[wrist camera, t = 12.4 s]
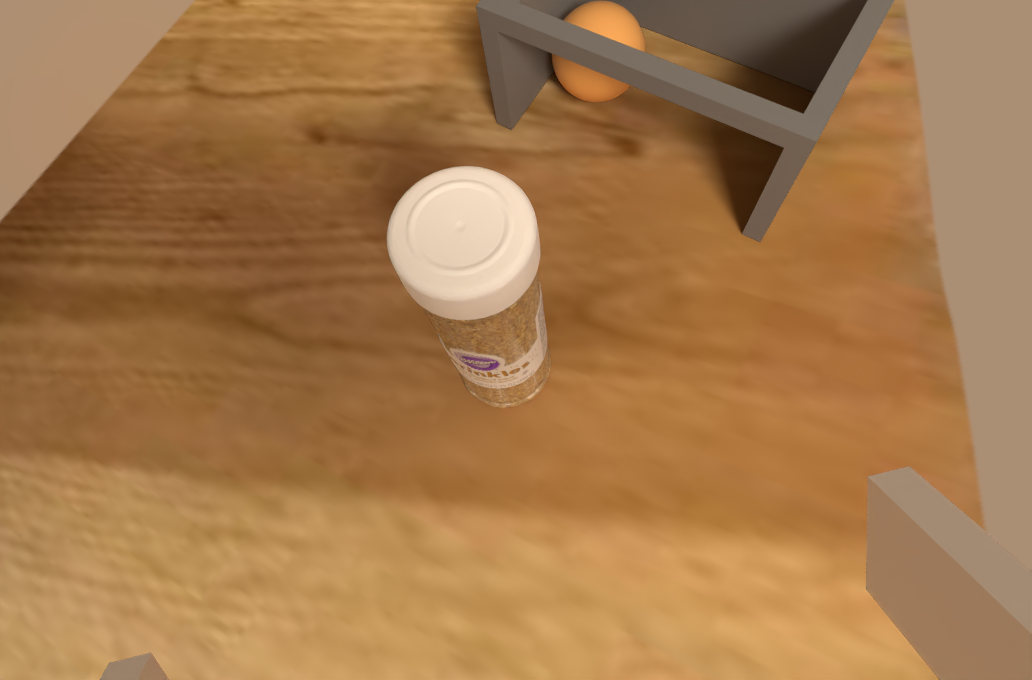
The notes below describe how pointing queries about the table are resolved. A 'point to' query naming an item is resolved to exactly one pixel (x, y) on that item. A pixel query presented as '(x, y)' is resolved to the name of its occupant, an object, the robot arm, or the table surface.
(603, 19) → the ball
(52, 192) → the table surface
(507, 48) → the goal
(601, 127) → the table surface
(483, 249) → the sprinkles bottle
